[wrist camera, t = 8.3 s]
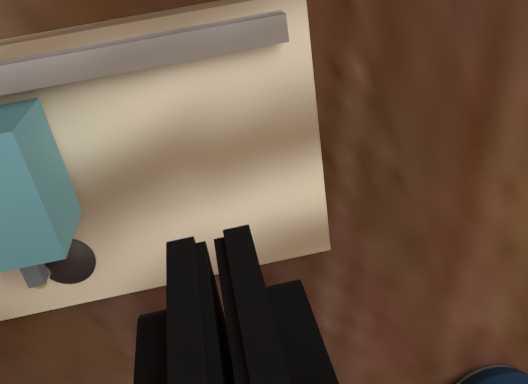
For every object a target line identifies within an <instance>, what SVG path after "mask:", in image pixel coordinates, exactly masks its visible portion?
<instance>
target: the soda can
mask: <svg viewBox="0 0 528 384" xmlns="http://www.w3.org/2000/svg"><path fill="white" fill-rule="evenodd" d="M456 384H528V374H527V373H525V372H523V371H520V370H518V369H515V368H512V367H510V366H506V365H491V366H486V367H483V368H480V369H477V370H475V371H473V372H471V373H469V374H467V375H466V376H464V377H463V378H462V379H460V380H459V381H458V382H457V383H456Z"/></svg>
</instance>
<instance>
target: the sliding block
mask: <svg viewBox="0 0 528 384" xmlns="http://www.w3.org/2000/svg"><path fill="white" fill-rule="evenodd" d="M81 212H82V209H81V207H80V204H79V201H78V199H77V196H76V194H75V191H74V188H73V186H72V183H71V181H70V178H69V175H68V173H67V170H66V167H65V165H64V162H63V160H62V157H61V154H60V152H59V149H58V147H57V144H56V141H55V139H54V136H53V133H52V131H51V128H50V126H49V123H48V120H47V118H46V115H45V112H44V110H43V107H42V105H41V102H40V99H39V98H35V99H29V100H24V101H19V102H13V103H8V104H3V105H0V273H1V272H6V271H10V270H15V269H20V271H21V273H22V275H23V277H24V280H25V282H26V284H27V286H28V288H33V287H34V288H38V289H41V288H44V287H46V286H47V284H48V281H49V278H50V275H51V270H50V269H49V268H48V267H46V266H45V265H44V263H49V262H53V261H58V260H63V259H66V258H67V255H68V252H69V249H70V246H71V243H72V239H73V236H74V233H75V230H76V227H77V224H78V221H79V218H80V215H81Z"/></svg>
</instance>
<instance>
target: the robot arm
mask: <svg viewBox="0 0 528 384" xmlns="http://www.w3.org/2000/svg"><path fill="white" fill-rule="evenodd" d="M223 235H224V237H221V238H217V239H214V245H215V252H216V259H217V265H218V272H219V279H220V285H221V292H222V299H223V306H224V312H225V317H224V313H223V309H222V305H221V301H220V297H219V293H218V289H217V285H216V281H215V277H214V273H213V269H212V265H211V261H210V256H209V252H208V248H207V245H206V242H205V241H203V242H198V243H196V242H195V239H194V236H192V237H187V238H183V239H178V240H174V241H169V242H167V243H166V297H167V309H166V310H162V311H157V312H153V313H149V314H144V315H140V316H139V318H138V323H137V337H136V353H135V368H134V384H339V383H338V380H337V377H336V375H335V372H334V369H333V366H332V364H331V361H330V358H329V356H328V353H327V350H326V347H325V345H324V342H323V339H322V336H321V334H320V331H319V328H318V326H317V323H316V320H315V317H314V315H313V312H312V309H311V306H310V304H309V301H308V298H307V295H306V293H305V290H304V287H303V285H302V283H301V281H300V279H299V280H295V281H290V282H286V283H282V284H277V285H273V286H268V287H265V283H264V279H263V276H262V272H261V268H260V264H259V261H258V257H257V253H256V249H255V246H254V242H253V238H252V234H251V231H250V227H249V224H248V225H243V226H239V227H234V228H229V229H225V230H223ZM225 319H226V321H225Z"/></svg>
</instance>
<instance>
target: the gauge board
mask: <svg viewBox="0 0 528 384" xmlns="http://www.w3.org/2000/svg"><path fill="white" fill-rule="evenodd" d="M35 98H39V99H40V102H41V105H42V107H43V110H44V112H45V115H46V118H47V120H48V123H49V126H50V128H51V131H52V133H53V136H54V139H55V141H56V144H57V147H58V149H59V152H60V154H61V157H62V160H63V162H64V165H65V167H66V170H67V173H68V175H69V178H70V181H71V183H72V186H73V188H74V191H75V194H76V196H77V199H78V201H79V204H80V207H81V209H82V212H81V215H80V218H79V221H78V224H77V227H76V230H75V233H74V236H73V239H72V243H71V246H70V249H69V252H68V255H67V258H66V259H63V260H58V261H53V262H49V263H44V265H45V266H46V267H48V268H49V269H50V270H51V275H50V278H49V281H48V284H47V286H46V287H44V288H41V289H38V288H34V287H33V288H28V286H27V284H26V282H25V280H24V277H23V275H22V273H21V271H20V269H15V270H10V271H6V272H1V273H0V321H2V320H7V319H12V318H16V317H21V316H26V315H30V314H35V313H39V312H44V311H49V310H53V309H58V308H63V307H67V306H72V305H77V304H81V303H86V302H90V301H95V300H100V299H104V298H109V297H114V296H118V295H123V294H128V293H132V292H137V291H141V290H146V289H151V288H155V287H160V286H165V285H166V243H167V242H169V241H174V240H178V239H183V238H187V237H192V236H194V239H195V242H196V243H198V242H203V241H205V242H206V245H207V248H208V252H209V256H210V261H211V265H212V269H213V273H214V275H216V274H219V272H218V265H217V259H216V252H215V245H214V239H217V238H221V237H224V235H223V230H225V229H229V228H234V227H239V226H243V225H248V224H249V227H250V231H251V234H252V238H253V242H254V246H255V249H256V253H257V257H258V261H259V264H260V265H262V264H267V263H271V262H276V261H281V260H285V259H290V258H294V257H299V256H304V255H308V254H313V253H318V252H322V251H327V250H331V248H330V238H329V228H328V218H327V207H326V197H325V187H324V177H323V167H322V156H321V146H320V136H319V126H318V116H317V105H316V95H315V85H314V75H313V65H312V55H311V44H310V34H309V24H308V14H307V4H306V0H220V1H214V2H209V3H203V4H197V5H192V6H186V7H181V8H175V9H169V10H164V11H158V12H153V13H147V14H141V15H136V16H130V17H125V18H119V19H113V20H108V21H102V22H97V23H91V24H85V25H80V26H74V27H69V28H63V29H57V30H52V31H46V32H41V33H35V34H29V35H24V36H18V37H13V38H7V39H1V40H0V105H3V104H8V103H13V102H19V101H24V100H29V99H35Z"/></svg>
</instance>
